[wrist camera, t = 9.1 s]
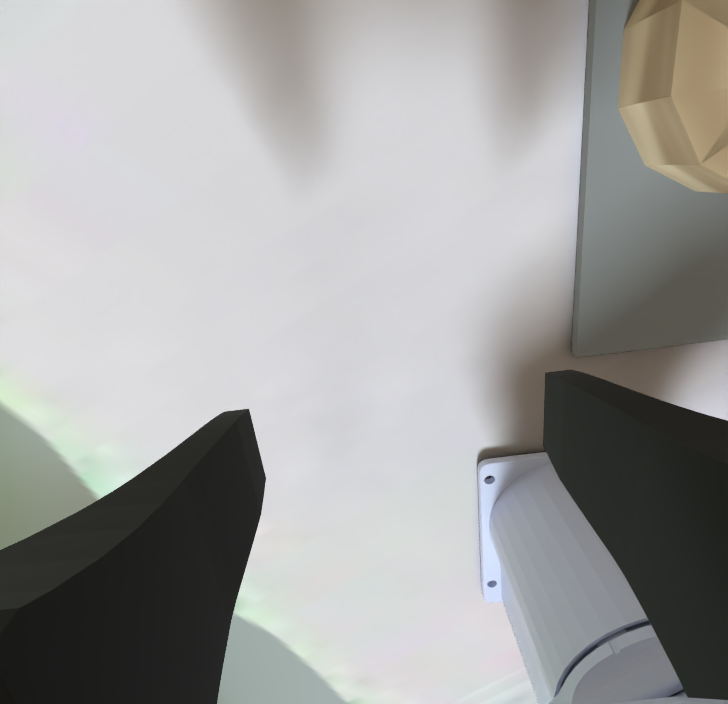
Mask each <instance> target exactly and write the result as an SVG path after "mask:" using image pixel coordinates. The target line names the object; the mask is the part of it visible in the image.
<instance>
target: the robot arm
mask: <svg viewBox="0 0 728 704" xmlns="http://www.w3.org/2000/svg"><path fill="white" fill-rule="evenodd" d="M543 446H544V448H545V450H546V452H541V453H532V454H524V455H516V456H507V457H499V458H490V459H485V460H483V461H481V462H480V463H479V464H478V468H477V473H478V501H479V530H480V558H481V587H482V595H483V599H484V600H485V601H486V602H488V603H497V602H503V604H504V607H505V610H506V613H507V616H508V618H509V621H510V624H511V627H512V630H513V633H514V636H515V638H516V641H517V644H518V647H519V650H520V653H521V656H522V658H523V661H524V664H525V667H526V670H527V673H528V675H529V678H530V681H531V684H532V687H533V690H534V693H535V695H536V698H537V701H538V704H728V421H726V420H723V419H719V418H715V417H712V416H708V415H705V414H702V413H698V412H695V411H692V410H689V409H686V408H683V407H679V406H676V405H673V404H670V403H667V402H664V401H661V400H658V399H655V398H653V397H650V396H647V395H644V394H641V393H639V392H636V391H633V390H630V389H628V388H625V387H622V386H619V385H617V384H614V383H611V382H608V381H606V380H603V379H600V378H597V377H594V376H591V375H588V374H585V373H582V372H578V371H574V370H565V371H557V372H549V373H545V401H544V435H543ZM489 475H490V476H492V477H491V478H490V479H485V478H486V477H487V476H489ZM265 481H266V477H265V473H264V469H263V465H262V461H261V456H260V452H259V448H258V444H257V440H256V436H255V432H254V428H253V424H252V420H251V416H250V412H249V409H244V410H235V411H227V412H223V413H221V414H220V415H218V416H217V417H215V418H214V419H212V420H211V421H210V422H208V423H207V424H206V425H204V426H203V427H202V428H200V429H199V430H198V431H196V432H195V433H194V434H193V435H191V436H190V437H189V438H187V439H186V440H185V441H183V442H182V443H181V444H180V445H178V446H177V447H176V448H174V449H173V450H172V451H170V452H169V453H168V454H167V455H165V456H164V457H162V458H161V459H159V460H158V461H157V462H155V463H154V464H152V465H151V466H150V467H148V468H147V469H145V470H144V471H143V472H141V473H140V474H138V475H137V476H136V477H134V478H133V479H131V480H130V481H128V482H127V483H125V484H124V485H122V486H121V487H119V488H117V489H116V490H114V491H113V492H111V493H109V494H108V495H106V496H104V497H103V498H101V499H99V500H98V501H96V502H94V503H93V504H91V505H89V506H87V507H86V508H84V509H82V510H81V511H78V512H77V513H75V514H73V515H71V516H69V517H67V518H65V519H63V520H61V521H59V522H57V523H55V524H53V525H51V526H50V527H47V528H45V529H44V530H42V531H40V532H38V533H36V534H34V535H32V536H30V537H28V538H26V539H24V540H21V541H19V542H17V543H15V544H13V545H11V546H8V547H6V548H4V549H2V550H0V704H217V698H218V692H219V686H220V680H221V674H222V668H223V662H224V657H225V651H226V646H227V640H228V635H229V629H230V624H231V619H232V615H233V611H234V607H235V603H236V599H237V596H238V592H239V589H240V585H241V582H242V579H243V575H244V572H245V568H246V565H247V561H248V558H249V555H250V551H251V548H252V544H253V541H254V537H255V534H256V530H257V527H258V523H259V519H260V516H261V510H262V503H263V497H264V489H265ZM492 580H493V581H492ZM489 581H490V582H489Z"/></svg>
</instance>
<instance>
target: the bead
mask: <svg viewBox="0 0 728 704" xmlns="http://www.w3.org/2000/svg"><path fill="white" fill-rule="evenodd" d="M618 110H619V112H620V114H621V116H622V118H623V120H624V123H625V125H626V127H627V129H628V131H629V133H630V135H631V137H632V139H633V141H634V144H635V146H636V148H637V150H638V152H639V154H640V156H641V158H642V160H643V163H644V165H645V166H647V167H649V168H651V169H653V170H655V171H657V172H659V173H661V174H663V175H665V176H667V177H669V178H670V179H672V180H674V181H676V182H678V183H680V184H682V185H684V186H686V187H688V188H690V189H692V190H694V191H698V192H713V193H728V0H639V2H638V3H637V5H636V7H635V9H634V11H633V13H632V15H631V17H630V19H629V20H628V22H627V24H626V26H625V28H624V30H623V43H622V57H621V70H620V83H619V96H618Z"/></svg>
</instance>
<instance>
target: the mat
mask: <svg viewBox="0 0 728 704" xmlns="http://www.w3.org/2000/svg"><path fill="white" fill-rule="evenodd" d="M638 2H639V0H589V18H588V37H587V57H586V76H585V96H584V115H583V135H582V154H581V174H580V193H579V213H578V232H577V251H576V271H575V290H574V310H573V329H572V349H571V354H573V355H574V356H575V357H576V358H578V357H586V356H594V355H602V354H611V353H619V352H627V351H635V350H643V349H652V348H660V347H668V346H676V345H684V344H693V343H701V342H709V341H717V340H726V339H728V193H713V192H698V191H694V190H692V189H690V188H688V187H686V186H684V185H682V184H680V183H678V182H676V181H674V180H672V179H670V178H669V177H667V176H665V175H663V174H661V173H659V172H657V171H655V170H653V169H651V168H649V167H647V166H645V165H644V163H643V160H642V158H641V156H640V154H639V152H638V150H637V148H636V146H635V144H634V141H633V139H632V137H631V135H630V133H629V131H628V129H627V127H626V125H625V123H624V120H623V118H622V116H621V114H620V112H619V110H618V96H619V83H620V70H621V57H622V43H623V30H624V28H625V26H626V24H627V22H628V20H629V19H630V17H631V15H632V13H633V11H634V9H635V7H636V5H637V3H638Z"/></svg>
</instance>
